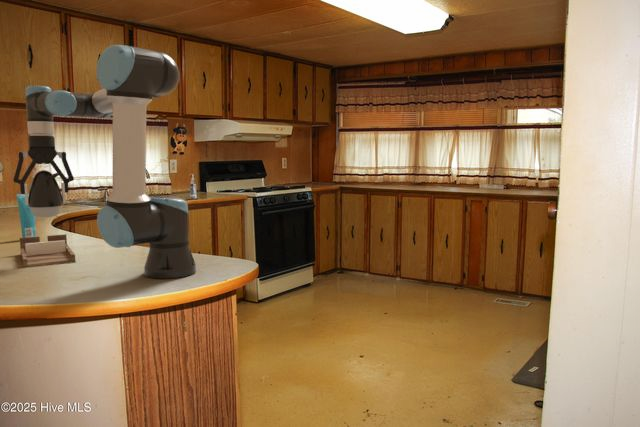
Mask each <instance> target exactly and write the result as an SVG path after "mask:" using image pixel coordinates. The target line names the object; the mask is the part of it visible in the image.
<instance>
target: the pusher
mask: <svg viewBox="0 0 640 427" xmlns="http://www.w3.org/2000/svg"><path fill="white" fill-rule="evenodd" d="M25 249H26V255H36V254H47V253H57V252H66V248H65V240H62V241H50V242H48V241H42V242H41V241H40V242H38V243H26V244H25Z"/></svg>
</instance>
